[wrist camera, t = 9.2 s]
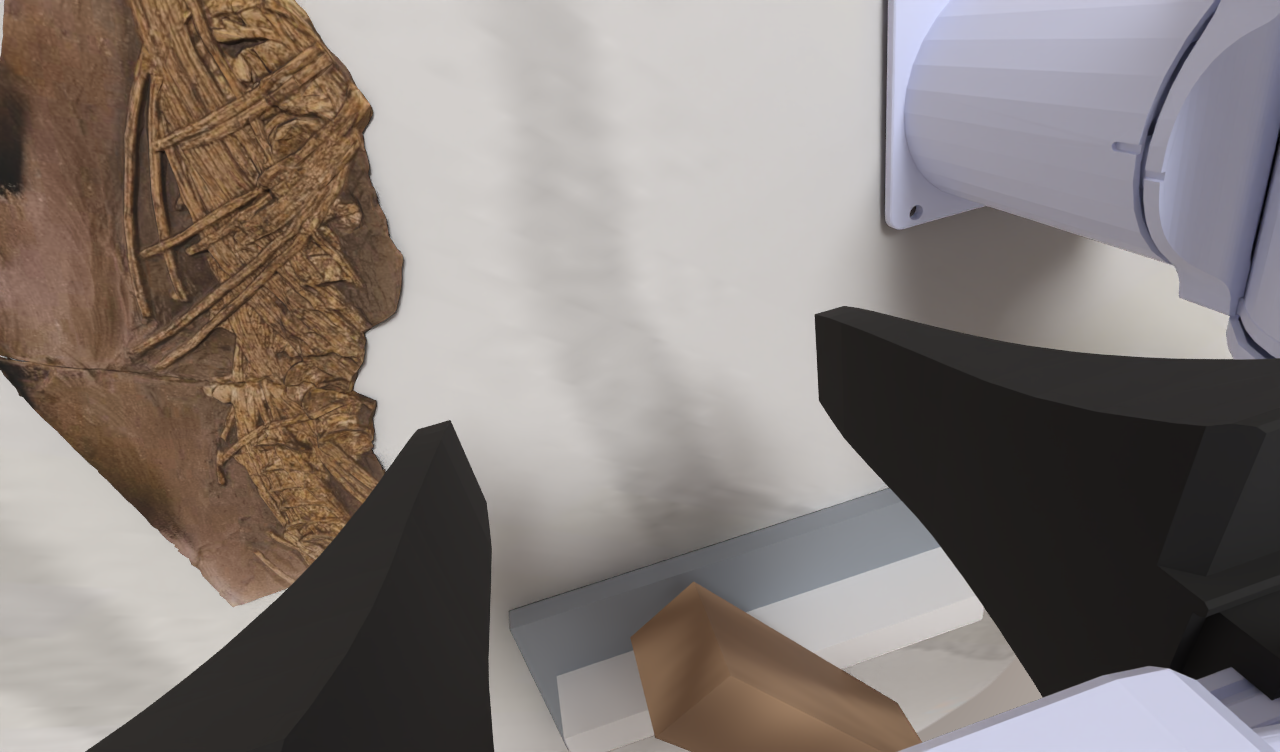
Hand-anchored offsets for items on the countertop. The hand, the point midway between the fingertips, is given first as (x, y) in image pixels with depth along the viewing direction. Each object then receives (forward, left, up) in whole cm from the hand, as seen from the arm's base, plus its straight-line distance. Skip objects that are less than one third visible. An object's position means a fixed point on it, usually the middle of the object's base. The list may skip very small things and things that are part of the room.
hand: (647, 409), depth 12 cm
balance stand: (-4, +20, -10) cm, 23 cm away
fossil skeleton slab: (+11, -2, -10) cm, 15 cm away
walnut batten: (-4, +20, -6) cm, 21 cm away
